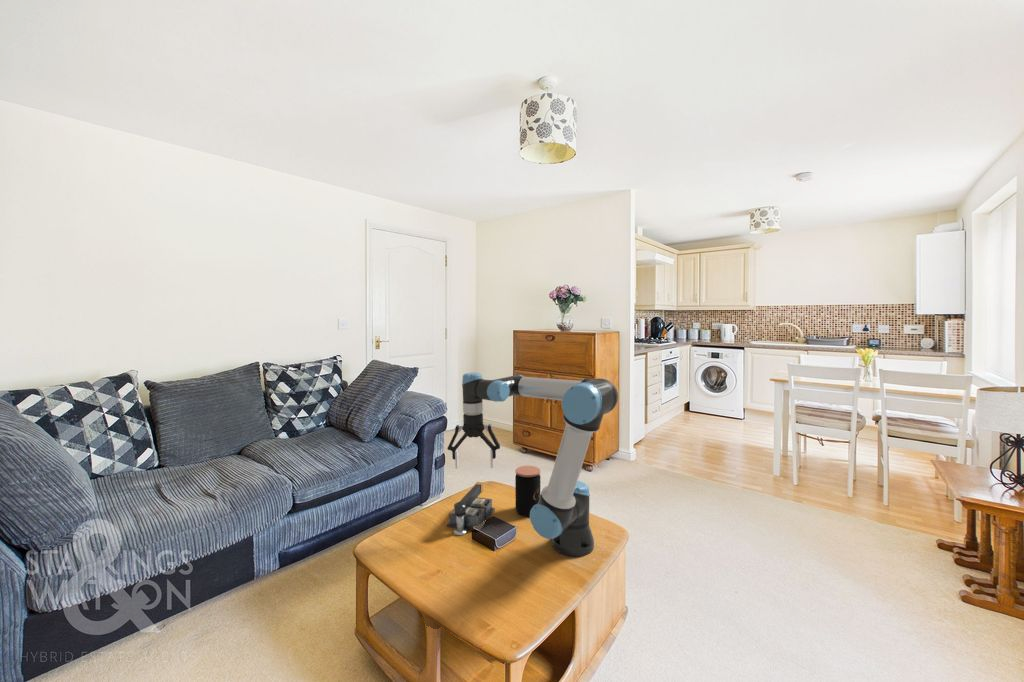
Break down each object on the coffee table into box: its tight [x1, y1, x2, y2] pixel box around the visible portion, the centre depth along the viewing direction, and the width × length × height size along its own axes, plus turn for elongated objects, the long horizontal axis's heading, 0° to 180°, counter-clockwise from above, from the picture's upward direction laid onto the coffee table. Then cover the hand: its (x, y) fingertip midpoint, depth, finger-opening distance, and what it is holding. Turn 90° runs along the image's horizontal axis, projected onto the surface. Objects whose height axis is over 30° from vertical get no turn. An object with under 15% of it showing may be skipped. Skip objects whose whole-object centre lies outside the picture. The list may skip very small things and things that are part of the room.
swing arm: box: [453, 481, 484, 516], centre depth 167 cm, size 24×4×4 cm, turn 163°
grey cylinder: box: [453, 515, 468, 537], centre depth 158 cm, size 5×5×7 cm
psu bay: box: [446, 496, 496, 531], centre depth 169 cm, size 14×18×6 cm
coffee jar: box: [514, 465, 541, 518], centre depth 174 cm, size 11×11×18 cm
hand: (474, 467), depth 159 cm, fingers open, 13 cm apart
